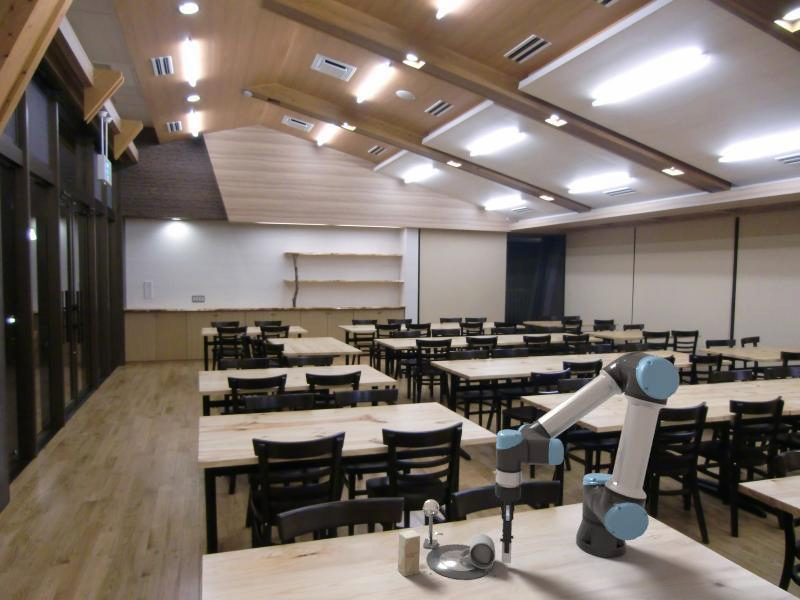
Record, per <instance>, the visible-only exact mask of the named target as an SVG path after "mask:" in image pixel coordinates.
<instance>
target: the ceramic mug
mask: <svg viewBox="0 0 800 600" xmlns="http://www.w3.org/2000/svg"><path fill="white" fill-rule="evenodd" d="M469 546H470V548H468V549H466V550H464V551H462V552H461V553H460V555H459V558H460V560H461V562H470V561H471V562H472V564H473V565H474V566H476V567H477V568H480V569H486V568H489V567H491V566H492V565H493V566H494V564H495V560H496V546H495V542H494V541H493V538H492V537H490V536H489V535H487V534H485V533H479V534H477V535H476V536H474V537H473V538H472V540H471V543H470V545H469ZM468 554H469V556H466V557H464V556H465V555H468Z"/></svg>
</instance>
